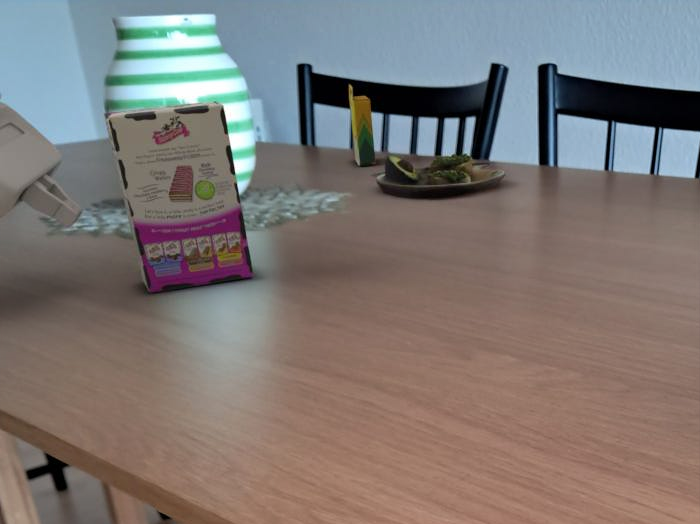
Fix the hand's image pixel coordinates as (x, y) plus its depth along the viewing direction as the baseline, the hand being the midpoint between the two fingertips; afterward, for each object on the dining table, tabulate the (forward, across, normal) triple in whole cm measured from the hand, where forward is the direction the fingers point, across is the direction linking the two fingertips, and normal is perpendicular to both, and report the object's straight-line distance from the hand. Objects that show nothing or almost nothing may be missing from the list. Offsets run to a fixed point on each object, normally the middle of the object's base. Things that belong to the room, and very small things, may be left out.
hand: (76, 219), depth 103 cm
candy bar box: (+13, -1, -3) cm, 13 cm away
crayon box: (+27, +74, -15) cm, 81 cm away
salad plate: (+34, +45, -23) cm, 61 cm away
